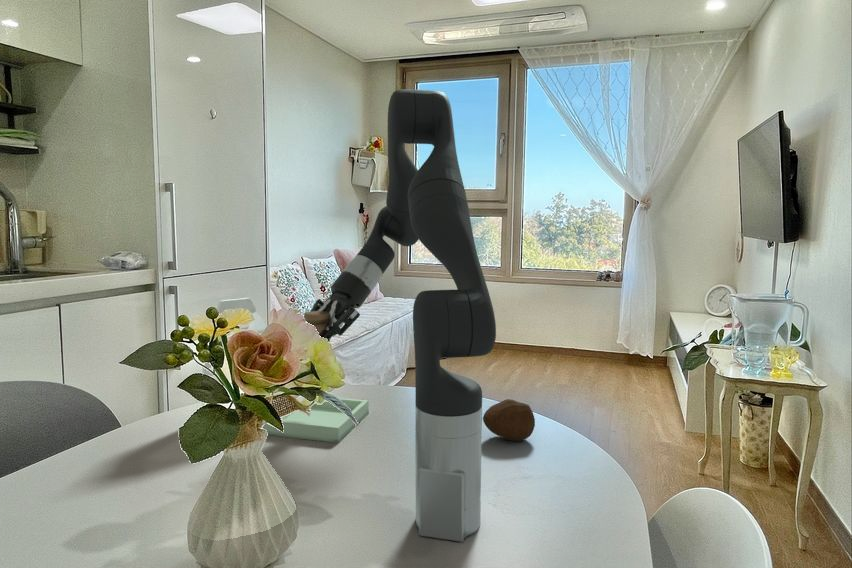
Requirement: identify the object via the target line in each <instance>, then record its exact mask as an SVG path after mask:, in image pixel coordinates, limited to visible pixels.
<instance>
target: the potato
mask: <svg viewBox="0 0 852 568" xmlns="http://www.w3.org/2000/svg"><path fill="white" fill-rule="evenodd" d="M482 423H483V424H484V425H485V427H486V428H487V429H488V430H489V431H490V432H491V433H493V434H494V435H496V436H498V437H501V438H503V439H505V440H507V441H511V442H512V441H513V442H521V441H524V440H527V439H528V438H529V437H531V435H532V434H533V431H534V429H535V427H536V419H535V415H534V412H533V410H532V408H531V407H530V405H529V404H527V403H523V402H519V401H517V400H515V399H511V398H510V399H504V400H502V401H500V402H498V403H495V404H492V405H491V406H490V407H489V408H487V410H486V411H485V412H484V414H483V415H482Z"/></svg>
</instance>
